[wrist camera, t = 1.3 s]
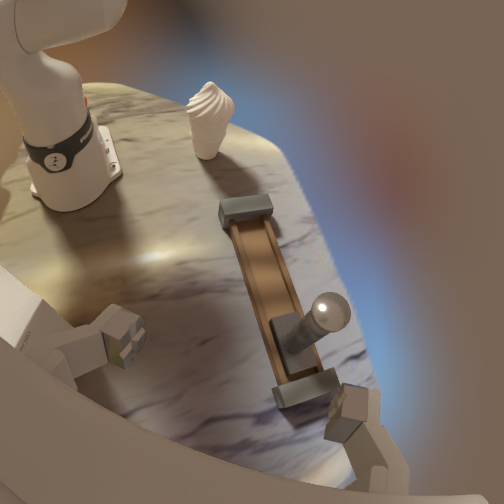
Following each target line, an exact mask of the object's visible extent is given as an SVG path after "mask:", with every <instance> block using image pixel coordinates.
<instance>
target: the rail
mask: <svg viewBox="0 0 504 504" xmlns="http://www.w3.org/2000/svg"><path fill="white" fill-rule="evenodd" d="M273 208H274V207H273V205H272V202H271V200H270V198H269V195H268V193H267V194H259V195H251V196H243V197H236V198H228V199H221V200H220V205H219V212H218V216H219V219H220V222H221V226H222V229H227V228H228V229H229V232H230V235H231V238H232V242H233V245H234V248H235V251H236V255H237V258H238V261H239V264H240V268H241V271H242V274H243V277H244V281H245V284H246V287H247V290H248V293H249V297H250V300H251V303H252V306H253V309H254V312H255V316H256V319H257V322H258V325H259V328H260V331H261V335H262V338H263V341H264V344H265V347H266V350H267V353H268V356H269V360H270V363H271V366H272V369H273V372H274V375H275V378H276V381H277V384H278V387H275V388H272V392H273V395H274V398H275V401H276V404H277V407H278V409H280V408H287V407H290V406H293V405H296V404H299V403H301V402H304V401H307V400H310V399H313V398H315V397H318V396H321V395H323V394H326V393H328V392H331V391H334V390H336V389H339V387H340V383H339V380H338V377H337V374H336V372H335V369H334V367H333V368H330V369H328V370H325V371H324V370H323V367H322V364H321V361H320V358H319V355H318V353H317V350H316V347H315V344H312V345H311V347H312V349H313V352H314V355H315V358H316V361H317V364H318V366H315V367H313V368H310V369H307V370H304V371H301V372H298V373H295V374H292V375H289V376H286V374H285V371H284V368H283V365H282V362H281V359H280V356H279V353H278V350H277V347H276V344H275V341H274V337H273V334H272V331H271V328H270V325H269V321H270V319H271V318H273V317H277V316H281V315H285V314H288V313H292V312H296V311H299V313H300V316H301V318H303V317H304V313H303V311H302V308H301V305H300V302H299V300H298V297H297V294H296V291H295V289H294V286H293V283H292V280H291V278H290V275H289V272H288V270H287V267H286V264H285V262H284V259H283V256H282V254H281V251H280V248H279V246H278V243H277V240H276V238H275V235H274V232H273V230H272V227H271V225H270V222H269V219H270V216H271V215H272V214H273Z"/></svg>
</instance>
